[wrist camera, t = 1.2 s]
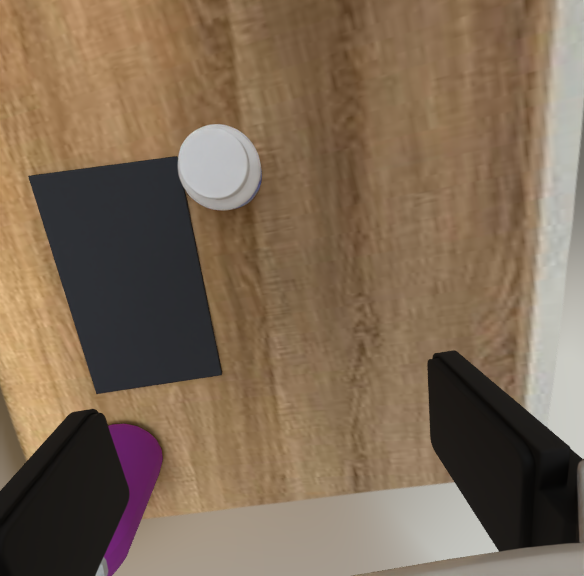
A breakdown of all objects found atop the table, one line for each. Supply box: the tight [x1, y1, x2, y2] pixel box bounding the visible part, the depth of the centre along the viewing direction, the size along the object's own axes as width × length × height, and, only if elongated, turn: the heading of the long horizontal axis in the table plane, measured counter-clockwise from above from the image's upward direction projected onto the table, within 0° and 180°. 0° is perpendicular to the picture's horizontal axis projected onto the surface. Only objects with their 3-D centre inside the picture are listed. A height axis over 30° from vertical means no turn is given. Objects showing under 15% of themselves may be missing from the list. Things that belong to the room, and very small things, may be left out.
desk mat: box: [28, 156, 222, 394], centre depth 31 cm, size 20×12×1 cm, turn 8°
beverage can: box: [95, 424, 163, 576], centre depth 30 cm, size 8×8×12 cm
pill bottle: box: [178, 124, 262, 210], centre depth 25 cm, size 5×5×10 cm
